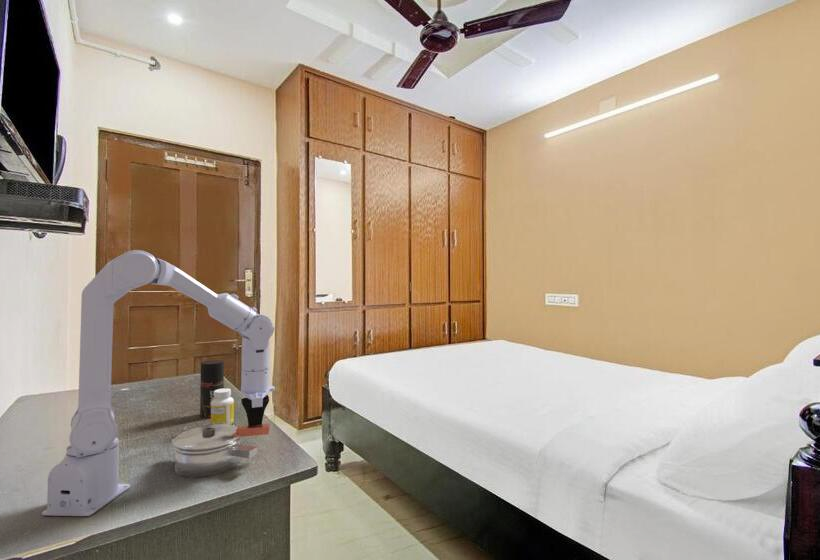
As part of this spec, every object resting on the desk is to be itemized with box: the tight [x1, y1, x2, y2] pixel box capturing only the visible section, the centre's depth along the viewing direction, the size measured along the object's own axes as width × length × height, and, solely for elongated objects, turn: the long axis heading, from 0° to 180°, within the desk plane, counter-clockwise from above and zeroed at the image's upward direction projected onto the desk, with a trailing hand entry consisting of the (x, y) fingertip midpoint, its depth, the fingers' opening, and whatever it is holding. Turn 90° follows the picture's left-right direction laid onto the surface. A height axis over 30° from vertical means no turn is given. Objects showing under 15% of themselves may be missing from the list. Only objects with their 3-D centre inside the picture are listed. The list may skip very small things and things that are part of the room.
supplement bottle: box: [210, 388, 235, 426], centre depth 104 cm, size 5×5×10 cm
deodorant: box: [199, 359, 225, 419], centre depth 114 cm, size 6×6×15 cm
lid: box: [174, 423, 271, 451], centre depth 84 cm, size 18×12×2 cm
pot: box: [171, 437, 258, 479], centre depth 83 cm, size 20×13×5 cm, turn 74°
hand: (255, 430), depth 87 cm, fingers closed, pressing on lid
